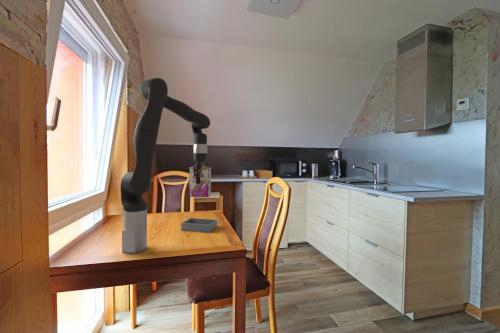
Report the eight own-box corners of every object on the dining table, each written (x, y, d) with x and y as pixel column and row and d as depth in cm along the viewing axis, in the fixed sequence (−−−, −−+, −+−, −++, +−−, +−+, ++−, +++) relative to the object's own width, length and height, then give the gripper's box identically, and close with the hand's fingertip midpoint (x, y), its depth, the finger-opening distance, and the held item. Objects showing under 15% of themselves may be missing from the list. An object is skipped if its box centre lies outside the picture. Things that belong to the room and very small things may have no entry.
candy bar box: (188, 196, 135) (188, 166, 135) (191, 195, 140) (191, 166, 140) (208, 197, 134) (208, 167, 134) (210, 196, 139) (211, 166, 139)
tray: (210, 232, 131) (210, 225, 131) (181, 230, 134) (181, 223, 134) (217, 226, 143) (217, 219, 142) (190, 224, 146) (190, 217, 145)
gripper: (201, 152, 129) (201, 184, 129) (211, 152, 143) (210, 182, 143) (188, 152, 130) (188, 184, 131) (199, 152, 144) (198, 181, 145)
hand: (200, 183), depth 137 cm, fingers closed on candy bar box, 5 cm apart
